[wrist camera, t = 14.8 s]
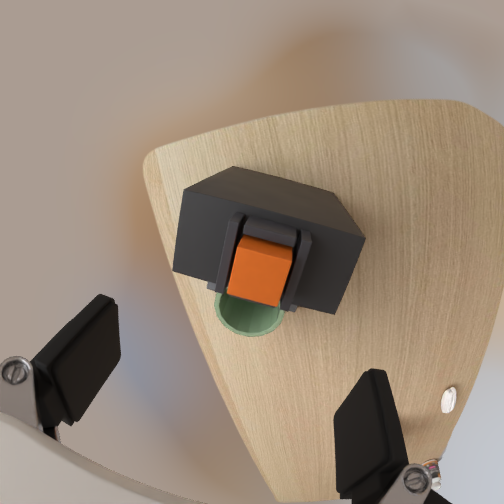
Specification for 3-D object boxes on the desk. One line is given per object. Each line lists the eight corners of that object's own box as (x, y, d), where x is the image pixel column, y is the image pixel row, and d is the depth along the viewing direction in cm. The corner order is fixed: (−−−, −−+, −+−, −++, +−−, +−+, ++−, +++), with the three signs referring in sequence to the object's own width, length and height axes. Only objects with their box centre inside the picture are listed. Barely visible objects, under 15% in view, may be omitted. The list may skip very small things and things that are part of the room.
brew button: (243, 233, 17) (237, 246, 15) (292, 246, 17) (292, 261, 15) (233, 276, 19) (226, 293, 17) (279, 289, 19) (277, 307, 16)
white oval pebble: (454, 381, 41) (459, 391, 38) (451, 404, 43) (454, 413, 40) (441, 387, 41) (445, 397, 39) (438, 409, 44) (441, 419, 41)
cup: (236, 240, 35) (221, 269, 27) (293, 256, 35) (293, 288, 27) (225, 290, 38) (209, 326, 30) (278, 304, 37) (273, 343, 30)
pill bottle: (440, 457, 52) (446, 483, 43) (429, 466, 54) (435, 492, 45) (425, 459, 52) (431, 487, 43) (415, 468, 55) (420, 495, 46)
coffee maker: (232, 165, 33) (171, 195, 16) (333, 192, 32) (373, 249, 16) (208, 284, 39) (156, 380, 22) (295, 307, 39) (291, 416, 22)
